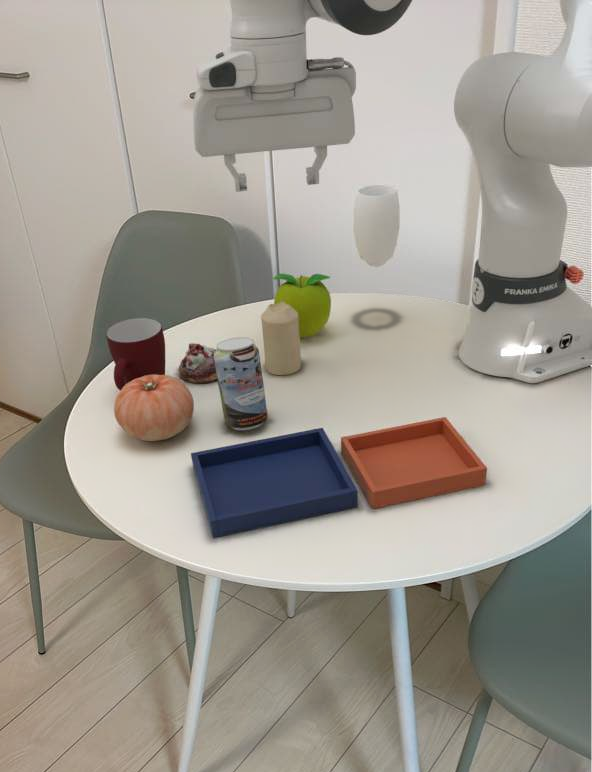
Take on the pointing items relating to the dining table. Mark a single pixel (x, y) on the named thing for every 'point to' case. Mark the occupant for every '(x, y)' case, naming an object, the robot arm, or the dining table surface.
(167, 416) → the orange pumpkin
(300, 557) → the dining table surface
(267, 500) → the navy tray
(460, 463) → the terracotta tray
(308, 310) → the fruit
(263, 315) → the candle
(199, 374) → the pastry
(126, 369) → the mug
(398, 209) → the cup
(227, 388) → the beverage can
